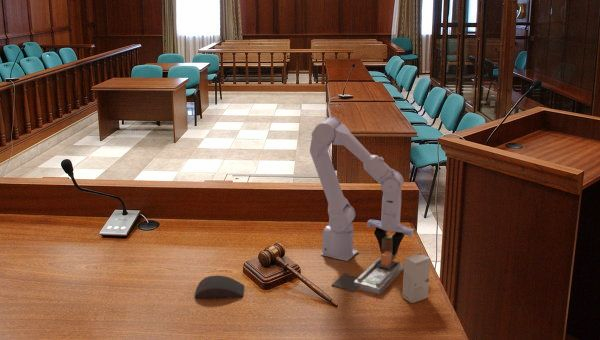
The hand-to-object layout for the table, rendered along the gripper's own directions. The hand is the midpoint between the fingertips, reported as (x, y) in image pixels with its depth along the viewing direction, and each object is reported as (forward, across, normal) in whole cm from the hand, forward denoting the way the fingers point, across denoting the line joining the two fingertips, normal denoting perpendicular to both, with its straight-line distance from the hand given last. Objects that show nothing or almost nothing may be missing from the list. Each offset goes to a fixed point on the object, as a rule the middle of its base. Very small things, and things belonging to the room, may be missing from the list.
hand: (388, 252), depth 190 cm
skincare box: (+3, -15, +17) cm, 23 cm away
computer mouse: (+4, +33, +42) cm, 54 cm away
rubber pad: (+3, +4, +19) cm, 20 cm away
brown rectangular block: (+2, 0, 0) cm, 2 cm away
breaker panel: (+3, -2, +12) cm, 13 cm away
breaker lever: (+1, -2, +7) cm, 7 cm away
